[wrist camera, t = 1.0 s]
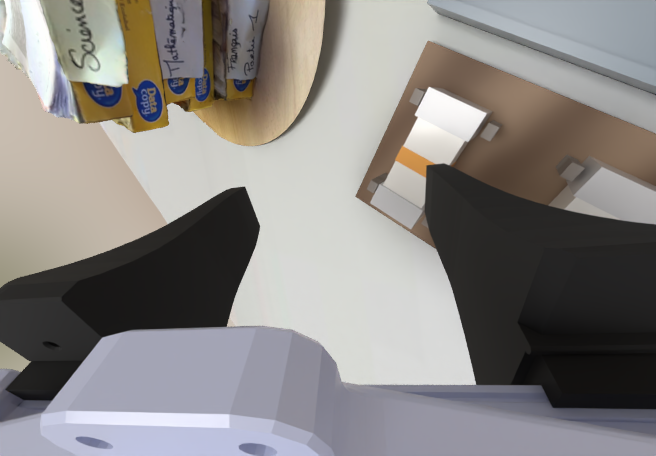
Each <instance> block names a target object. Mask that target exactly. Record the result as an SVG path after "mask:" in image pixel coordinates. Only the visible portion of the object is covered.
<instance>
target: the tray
mask: <svg viewBox="0 0 656 456" xmlns="http://www.w3.org/2000/svg"><path fill="white" fill-rule="evenodd" d="M427 3H428V4H429V5H430V6H431V7H432V8H433V9H434V10H435V11H436V12H437V13H438V14H441V15H444V16H446V17H449V18H452V19H454V20H457V21H460V22H462V23H465V24H468V25H470V26H473V27H476V28H478V29H481V30H484V31H486V32H489V33H492V34H495V35H497V36H500V37H503V38H505V39H508V40H511V41H513V42H516V43H519V44H521V45H524V46H527V47H529V48H532V49H535V50H537V51H540V52H543V53H545V54H548V55H551V56H554V57H556V58H559V59H562V60H564V61H567V62H570V63H572V64H575V65H578V66H580V67H583V68H586V69H588V70H591V71H594V72H596V73H599V74H602V75H605V76H607V77H610V78H613V79H615V80H618V81H621V82H623V83H626V84H629V85H631V86H634V87H637V88H639V89H642V90H645V91H647V92H650V93H653V94H655V95H656V0H428V2H427Z"/></svg>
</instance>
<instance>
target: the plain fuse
mask: <svg viewBox="0 0 656 456" xmlns="http://www.w3.org/2000/svg"><path fill="white" fill-rule="evenodd" d="M582 165H583V166H584V168H585V169H584V170H583V171H582V172H581V173H580V174H579V175H578V176H577V177H576V178H575V179H574V180H573V181H572V182H571V181H569V180H566V182H567V184H568V185H567V186H566V187H565V188H564V189H563V190H562V191H561V192H560V193H559V195H558V196H557V197H556V198H555V199H554V200H553V201H552V202H551V203H550V204H549V205H548V206H552V207H556V208H560V209H564V210H569V211H573V212H578V213H583V214H588V215H593V216H599V217H605V218H611V219H617V220H623V221H630V222H638V223H647V224H656V186H654V185H652V184H650V183H648V182H646V181H643V180H641V179H639V178H637V177H635V176H632V175H630V174H628V173H626V172H624V171H622V170H619V169H617V168H615V167H613V166H611V165H608V164H606V163H604V162H602V161H600V160H598V159H595V158H593V157H591V156H589V157H588V158H587V159H586V160H585V161H584V162H583V163H582Z"/></svg>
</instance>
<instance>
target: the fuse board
mask: <svg viewBox="0 0 656 456" xmlns="http://www.w3.org/2000/svg"><path fill="white" fill-rule="evenodd" d="M429 87H435V88H442V89H445V90H447V91H449V92H451V93H454V94H456V95H458V96H460V97H462V98H465V99H467V100H469V101H471V102H473V103H475V104H478V105H480V106H482V107H484V108H486V109H489V110H491V111H493V112H492V114H491V115H490V117H489V118H488V120H487V121H486V123H485V124H484V126H483V127H482V129H481V130H480V132H479V133H478V135H477V136H476V137H475V138H473V139H472V140H471V141H469V142H468V144H467V145H466V147H465V148H464V150H463V151H462V153H461V154H460V156H459V157H458V159H457V160H456V163H455V165H454V166H453V167H454V168H456V169H458V170H460V171H462V172H464V173H465V174H467V175H469V176H471V177H473V178H475V179H477V180H480V181H482V182H484V183H486V184H488V185H490V186H493V187H495V188H497V189H500V190H502V191H505V192H507V193H510V194H513V195H515V196H518V197H521V198H524V199H528V200H531V201H534V202H537V203H541V204H544V205H549V204H550V203H551V202H552V201H553V200H554V199H555V198H556V197H557V196H558V195H559V193H560V192H561V191H562V190H563V189H564V188H565V187H566V186H567V185H568V184H567V182H566V180H569V181H571V182H572V181H573V180H574V179H575V178H576V177H577V176H578V175H579V174H580V173H581V172H582V171H583V170H584V169H585V168H584V166H583V165H582V163H583V162H584V161H585V160H586V159H587V158H588V157H589V156H591V157H593V158H595V159H598V160H600V161H602V162H604V163H606V164H608V165H611V166H613V167H615V168H617V169H619V170H622V171H624V172H626V173H628V174H630V175H632V176H635V177H637V178H639V179H641V180H643V181H646V182H648V183H650V184H652V185H654V186H656V134H655V133H652V132H650V131H647V130H645V129H643V128H640V127H638V126H635V125H633V124H630V123H628V122H625V121H623V120H621V119H618V118H616V117H613V116H611V115H608V114H606V113H603V112H601V111H599V110H596V109H594V108H591V107H589V106H586V105H584V104H581V103H579V102H577V101H574V100H572V99H569V98H567V97H564V96H562V95H559V94H557V93H555V92H552V91H550V90H547V89H545V88H542V87H540V86H538V85H535V84H533V83H530V82H528V81H525V80H523V79H520V78H518V77H516V76H513V75H511V74H508V73H506V72H503V71H501V70H498V69H496V68H494V67H491V66H489V65H486V64H484V63H481V62H479V61H476V60H474V59H472V58H469V57H467V56H464V55H462V54H459V53H457V52H455V51H452V50H450V49H447V48H445V47H442V46H440V45H437V44H435V43H433V42H430V41H427V44H426V46H425V48H424V50H423V52H422V54H421V57H420V59H419V61H418V63H417V65H416V67H415V69H414V72H413V74H412V76H411V78H410V80H409V82H408V84H407V87H406V89H405V91H404V93H403V95H402V97H401V100H400V102H399V104H398V106H397V108H396V110H395V112H394V115H393V117H392V119H391V121H390V123H389V125H388V128H387V130H386V132H385V134H384V136H383V138H382V140H381V143H380V145H379V147H378V149H377V151H376V153H375V156H374V158H373V160H372V162H371V164H370V166H369V168H368V171H367V173H366V175H365V177H364V179H363V181H362V184H361V186H360V188H359V190H358V192H357V194H356V196H355V197H357V198H359V199H360V200H362V201H363V202H365V203H366V204H368V205H369V206H371V207H372V208H374V209H375V210H377V211H379V212H380V213H382V214H383V215H385V216H386V217H388V218H389V219H391V220H392V221H394V222H395V223H397V224H398V225H400V226H402V227H403V228H405V229H406V230H408V231H409V232H411V233H412V234H414V235H415V236H417V237H418V238H420V239H422V240H423V241H425V242H426V243H428V244H429V245H431V246H432V247H434V248H435V249H436V247H435V244H434V242H433V239H432V237H431V234H430V232H429V228H428V224H427V220H426V215H425V214H424V215H423V216H422V218H421V219H420V220H419V221H418V222H417V223H416V224H415V225H414V227H413V228H412V229H409V228H408V227H406V226H405V225H403V224H401V223H400V222H398V221H397V220H395V219H394V218H392V217H391V216H389V215H388V214H386V213H384V212H383V211H381V210H380V209H378V208H377V207H375V206H374V205H372V204H371V203H370V202H371V200H372V198H373V196H374V194H375V192H376V190H377V188H378V186H379V184H381V183H382V182H384V181H385V180H386V178H387V176H388V174H389V172H390V171H391V169H392V167H393V165H394V163H395V159H396V157H397V155H398V153H399V151H400V149H401V147H402V146H403V145H404V144H405V142H406V140H407V138H408V136H409V134H410V132H411V130H412V128H413V126H414V124H415V122H416V120H417V118H418V117H417V116H415V113H416V111H417V109H418V107H419V105H420V103H421V101H422V100H423V98H424V96H425V94H426V92H427V90H428V88H429Z"/></svg>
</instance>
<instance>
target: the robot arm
mask: <svg viewBox="0 0 656 456" xmlns="http://www.w3.org/2000/svg"><path fill="white" fill-rule="evenodd" d="M425 215H426V220H427V224H428V228H429V232H430V234H431V237H432V239H433V242H434V244H435V247H436V249H437V252H438V254H439V256H440V259H441V261H442V264H443V266H444V268H445V271H446V273H447V276H448V278H449V281H450V284H451V287H452V290H453V293H454V297H455V301H456V304H457V308H458V311H459V315H460V319H461V323H462V327H463V330H464V334H465V338H466V342H467V347H468V351H469V355H470V359H471V363H472V367H473V372H474V376H475V381H476V385H357V384H351V383H345V382H342V381H341V378H340V375H339V371H338V368H337V364H336V362H335V361H334V360H333V359H332V357H331V356H330V355H329V354H328V352H327V351H326V350H325V349H324V347H323V346H322V345H321V344H320V343H319V342H317V341H315V340H313V339H311V338H309V337H307V336H305V335H302V334H300V333H298V332H296V331H294V330H290V329H283V328H275V327H267V326H239V327H227V323H228V319H229V316H230V312H231V309H232V305H233V302H234V298H235V295H236V293H237V290H238V287H239V285H240V283H241V280H242V278H243V276H244V273H245V271H246V268H247V266H248V264H249V261H250V259H251V256H252V254H253V251H254V249H255V246H256V243H257V239H258V234H259V230H260V225H259V222H258V220H257V217H256V214H255V212H254V209H253V206H252V204H251V201H250V199H249V196H248V193H247V191H246V188H245V187H238V188H231V189H228V190H226V191H224V192H222V193H220V194H218V195H217V196H215V197H213V198H211V199H210V200H208V201H207V202H205V203H203V204H202V205H200V206H198V207H197V208H195V209H193V210H192V211H190V212H188V213H187V214H185V215H183V216H182V217H180V218H178V219H176V220H175V221H173V222H171V223H169V224H167V225H166V226H164V227H162V228H160V229H158V230H156V231H154V232H152V233H150V234H148V235H145V236H143V237H141V238H139V239H137V240H134V241H132V242H129V243H127V244H124V245H122V246H120V247H117V248H115V249H112V250H110V251H107V252H104V253H101V254H98V255H96V256H93V257H90V258H87V259H84V260H81V261H77V262H74V263H71V264H68V265H64V266H61V267H57V268H54V269H50V270H46V271H42V272H39V273H35V274H32V275H28V276H24V277H20V278H17V279H14V280H12V281H10V282H8V283H6V284H5V285H3V286H2V287H1V288H0V342H2V343H3V344H5V345H6V346H8V347H9V348H11V349H12V350H14V351H15V352H17V353H18V354H20V355H21V356H23V357H24V358H26V359H27V360H29V361H31V363H29V365H28V366H27V367H26V368H25V369H24V370H23V371H22V372H19V371H16V370H12V369H0V456H656V224H647V223H638V222H630V221H623V220H617V219H611V218H605V217H599V216H593V215H588V214H583V213H578V212H573V211H569V210H564V209H560V208H556V207H552V206H548V205H544V204H541V203H537V202H534V201H531V200H528V199H524V198H521V197H518V196H515V195H513V194H510V193H507V192H505V191H502V190H500V189H497V188H495V187H493V186H490V185H488V184H486V183H484V182H482V181H480V180H477V179H475V178H473V177H471V176H469V175H467V174H465V173H464V172H462V171H460V170H458V169H456V168H454V167H452V166H450V165H447V164H445V163H442V164H433V165H426V189H425Z"/></svg>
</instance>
